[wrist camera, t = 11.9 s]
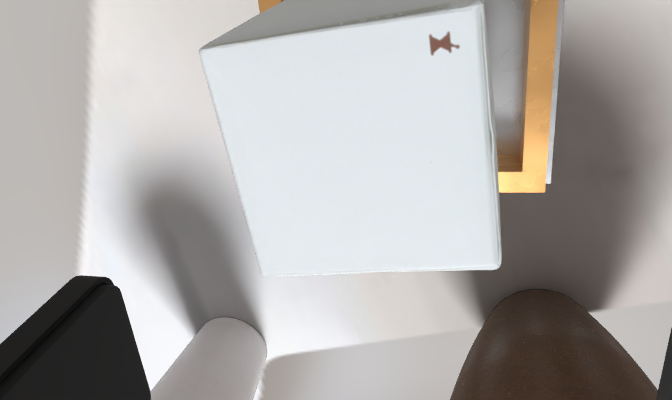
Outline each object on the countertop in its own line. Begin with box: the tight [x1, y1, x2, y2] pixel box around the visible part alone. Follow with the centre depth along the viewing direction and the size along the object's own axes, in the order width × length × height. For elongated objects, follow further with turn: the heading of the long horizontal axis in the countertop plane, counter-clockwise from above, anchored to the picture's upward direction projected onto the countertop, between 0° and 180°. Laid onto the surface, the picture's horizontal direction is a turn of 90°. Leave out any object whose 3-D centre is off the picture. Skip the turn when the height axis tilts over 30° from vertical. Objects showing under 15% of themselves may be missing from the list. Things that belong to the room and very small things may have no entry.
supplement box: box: [199, 0, 502, 277], centre depth 21 cm, size 7×7×13 cm
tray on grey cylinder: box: [258, 0, 564, 193], centre depth 30 cm, size 14×13×14 cm
